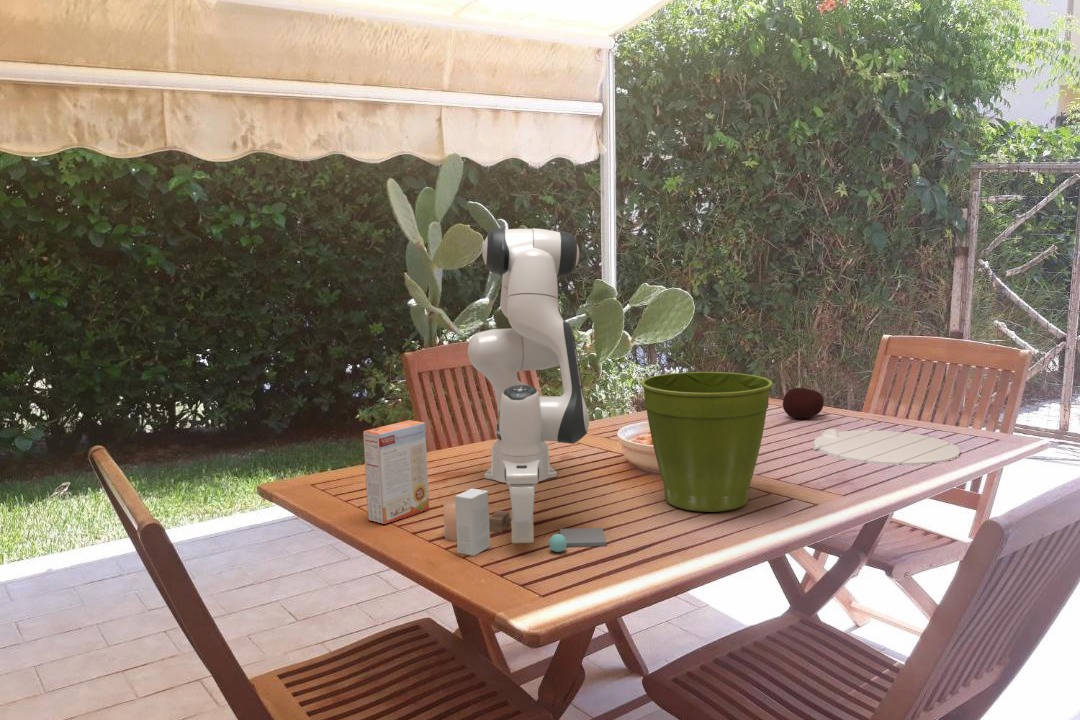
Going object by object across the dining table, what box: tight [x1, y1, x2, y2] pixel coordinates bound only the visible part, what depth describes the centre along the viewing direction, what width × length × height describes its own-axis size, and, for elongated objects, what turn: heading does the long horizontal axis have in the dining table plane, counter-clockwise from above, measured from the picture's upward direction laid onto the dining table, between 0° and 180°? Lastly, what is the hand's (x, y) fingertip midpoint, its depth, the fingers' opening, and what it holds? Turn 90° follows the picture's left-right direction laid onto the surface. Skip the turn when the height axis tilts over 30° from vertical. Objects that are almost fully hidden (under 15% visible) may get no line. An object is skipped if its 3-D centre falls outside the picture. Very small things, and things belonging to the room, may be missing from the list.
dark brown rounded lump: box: [782, 387, 825, 420], centre depth 306 cm, size 11×13×10 cm
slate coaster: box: [559, 527, 607, 548], centre depth 192 cm, size 9×9×1 cm
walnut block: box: [489, 509, 511, 533], centre depth 201 cm, size 6×3×3 cm, turn 164°
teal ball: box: [548, 533, 567, 553], centre depth 185 cm, size 4×4×4 cm
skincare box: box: [454, 488, 491, 557], centre depth 186 cm, size 6×4×12 cm
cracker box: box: [362, 419, 430, 525], centre depth 209 cm, size 14×6×21 cm, turn 141°
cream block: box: [510, 510, 535, 544], centre depth 193 cm, size 4×4×6 cm
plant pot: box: [640, 371, 773, 513], centre depth 215 cm, size 30×30×29 cm
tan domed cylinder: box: [443, 499, 457, 543], centre depth 195 cm, size 7×7×7 cm
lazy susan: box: [813, 427, 961, 466], centre depth 266 cm, size 40×39×3 cm
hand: (522, 529), depth 193 cm, fingers open, 7 cm apart
